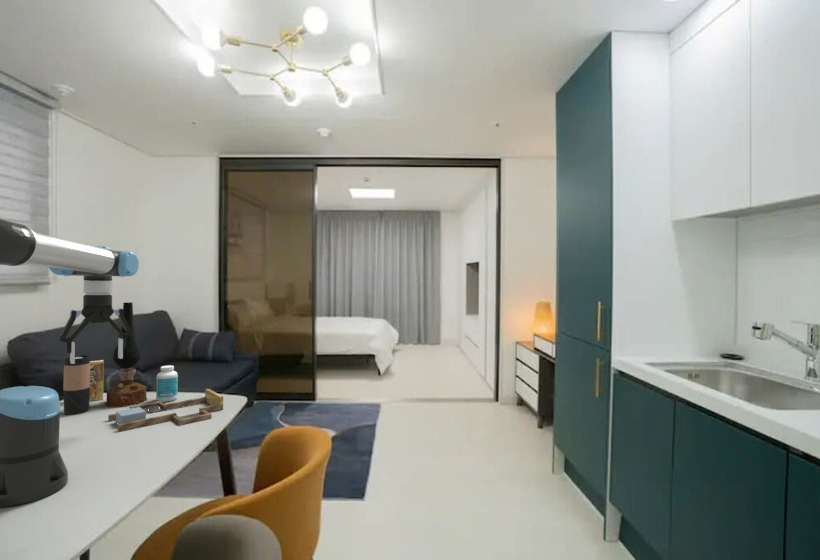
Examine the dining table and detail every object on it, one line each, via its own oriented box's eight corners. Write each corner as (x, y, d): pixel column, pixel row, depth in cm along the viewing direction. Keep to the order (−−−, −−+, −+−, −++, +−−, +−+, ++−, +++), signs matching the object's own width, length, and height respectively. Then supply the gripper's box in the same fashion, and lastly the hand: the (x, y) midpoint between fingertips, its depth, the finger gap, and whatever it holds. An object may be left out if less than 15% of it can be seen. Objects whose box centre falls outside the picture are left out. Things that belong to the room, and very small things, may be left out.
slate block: (121, 428, 139) (121, 416, 139) (115, 423, 144) (115, 411, 144) (145, 423, 144) (145, 411, 144) (139, 418, 149) (139, 407, 149)
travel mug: (78, 415, 150) (79, 359, 150) (57, 414, 150) (58, 358, 150) (94, 408, 158) (95, 355, 157) (74, 408, 158) (75, 354, 158)
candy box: (103, 397, 172) (103, 359, 172) (103, 399, 169) (103, 361, 169) (75, 400, 167) (75, 362, 167) (75, 403, 164) (75, 364, 163)
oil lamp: (115, 406, 172) (102, 309, 174) (156, 397, 175) (143, 302, 178) (99, 412, 158) (85, 307, 161) (144, 403, 162) (129, 300, 165)
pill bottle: (181, 399, 171) (181, 366, 171) (162, 403, 165) (162, 369, 165) (171, 396, 175) (171, 363, 175) (152, 400, 169) (152, 366, 169)
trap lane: (124, 437, 130) (124, 421, 130) (103, 415, 150) (103, 401, 150) (231, 413, 154) (231, 400, 154) (201, 397, 174) (201, 385, 174)
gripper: (138, 292, 148) (137, 354, 148) (47, 294, 130) (46, 363, 131) (144, 293, 143) (143, 357, 143) (50, 295, 125) (49, 367, 125)
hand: (97, 360), depth 137 cm, fingers open, 12 cm apart
